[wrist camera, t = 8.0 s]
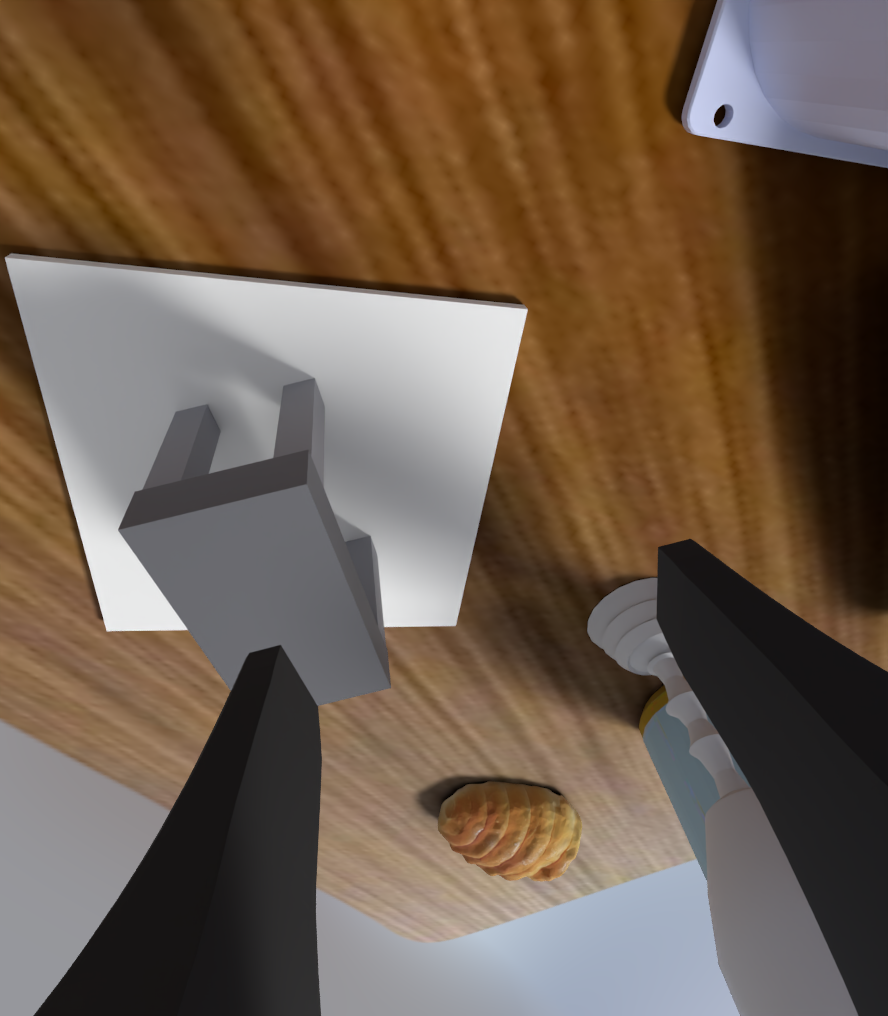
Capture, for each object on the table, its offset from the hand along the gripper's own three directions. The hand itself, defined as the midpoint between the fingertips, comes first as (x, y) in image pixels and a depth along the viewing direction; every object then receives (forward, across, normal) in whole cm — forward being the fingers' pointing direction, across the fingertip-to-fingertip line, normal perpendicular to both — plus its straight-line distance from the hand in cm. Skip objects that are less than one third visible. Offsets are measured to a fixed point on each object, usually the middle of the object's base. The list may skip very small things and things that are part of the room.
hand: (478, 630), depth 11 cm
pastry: (+11, +1, +30) cm, 32 cm away
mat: (+10, +5, +2) cm, 12 cm away
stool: (+10, +5, +2) cm, 12 cm away
